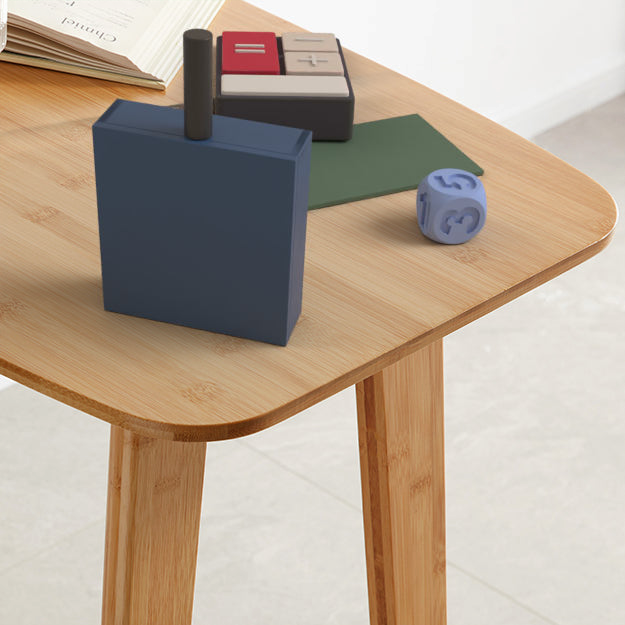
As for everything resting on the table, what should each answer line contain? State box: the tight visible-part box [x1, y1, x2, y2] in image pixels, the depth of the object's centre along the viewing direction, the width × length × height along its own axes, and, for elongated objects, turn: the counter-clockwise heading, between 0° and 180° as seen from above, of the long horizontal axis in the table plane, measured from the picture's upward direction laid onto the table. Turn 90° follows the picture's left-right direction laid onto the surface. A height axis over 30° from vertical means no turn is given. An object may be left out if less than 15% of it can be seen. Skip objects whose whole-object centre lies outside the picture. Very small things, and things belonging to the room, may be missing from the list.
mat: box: [308, 112, 485, 211], centre depth 88 cm, size 24×10×1 cm, turn 116°
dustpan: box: [91, 28, 312, 347], centre depth 67 cm, size 4×12×19 cm, turn 76°
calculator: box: [214, 30, 356, 140], centre depth 96 cm, size 11×4×15 cm
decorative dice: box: [415, 169, 488, 245], centre depth 81 cm, size 4×4×4 cm
